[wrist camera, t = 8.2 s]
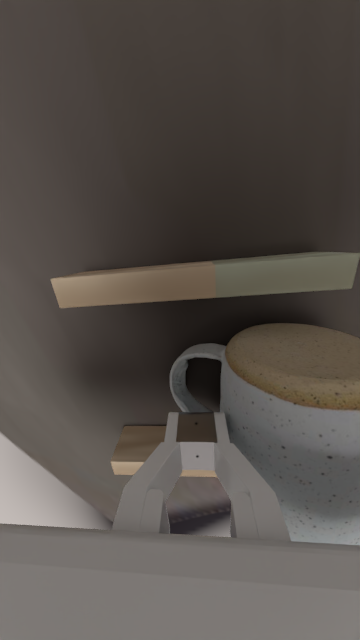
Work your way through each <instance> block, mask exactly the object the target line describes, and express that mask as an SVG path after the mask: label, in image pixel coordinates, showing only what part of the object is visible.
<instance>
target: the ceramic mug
mask: <svg viewBox="0 0 360 640" xmlns="http://www.w3.org/2000/svg"><path fill="white" fill-rule="evenodd" d="M194 357H199V358H210V359H217V360H219V361H221V362H222V368H221V400H220V412H224V414H225V419H226V424H227V430H228V435H229V440H230V443H233V444H234V445H235V446H236V447H237V448H238V449H239V451H240V452H241V453H242V454H243V455H244V457H245V458H246V459H247V460H248V461H249V462H250V464H251V465H252V466H253V467H254V468H255V469H256V471H257V472H258V473H259V474H260V475H261V477H262V478H263V479H264V480H265V481H266V482H267V484H268V485H269V486H270V487H271V488H272V490H273V491H274V492H275V493H276V496H277V499H278V502H279V505H280V508H281V511H282V514H283V518H284V521H285V524H286V527H287V530H288V533H289V536H290V539H291V541H297V542H314V543H330V544H347V545H360V338H357V337H355V336H352V335H350V334H347V333H344V332H340V331H337V330H333V329H329V328H324V327H319V326H314V325H306V324H293V323H272V324H263V325H256V326H253V327H250V328H247V329H244V330H243V331H241V332H239V333H237V334H236V335H235V336H234V337H232V339H231V340H230V341H229V343H228V344H227V346H224V345H219V344H215V343H207V344H198V345H194V346H192V347H190V348H188V349H186V350H185V351H184V352H183V353H182V354H181V355H180V356H179V357H178V358H177V360H176V361H175V362H174V364H173V365H172V368H171V371H170V389H171V393H172V395H173V398H174V400H175V402H176V403H177V405H178V406H179V407H180V409H181V410H182V411H183V412H193V413H194V412H213V411H212V410H209V409H208V408H206V407H205V406H203V405H202V404H200V403H199V402H198V401H197V400H196V399H195V398H194V397H193V396H192V395H191V394H190V393H189V391H188V390H187V386H186V385H185V379H186V369H187V367H188V361H187V360H188V359H191V358H194Z"/></svg>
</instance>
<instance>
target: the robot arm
mask: <svg viewBox="0 0 360 640" xmlns="http://www.w3.org/2000/svg"><path fill="white" fill-rule="evenodd" d="M182 470H212V471H215V473H216V475H217V477H218V478H219V480H220V482H221V483H222V485H223V487H224V489H225V490H226V492H227V494H228V496H229V497H230V499H231V524H230V534H231V537H213V536H198V535H181V534H169V532H170V527H169V521H168V515H167V510H166V504H165V502H166V500H167V498H168V497H169V495H170V493H171V491H172V489H173V487H174V486H175V484H176V482H177V480H178V478H179V476H180V475H181V473H182ZM0 640H360V545H347V544H330V543H314V542H297V541H291V539H290V536H289V533H288V530H287V527H286V524H285V521H284V518H283V514H282V511H281V508H280V505H279V502H278V499H277V496H276V493H275V492H274V491H273V490H272V488H271V487H270V486H269V485H268V484H267V482H266V481H265V480H264V479H263V478H262V477H261V475H260V474H259V473H258V472H257V471H256V469H255V468H254V467H253V466H252V465H251V464H250V462H249V461H248V460H247V459H246V458H245V457H244V455H243V454H242V453H241V452H240V451H239V449H238V448H237V447H236V446H235V445H234V444H233V443H230V440H229V435H228V430H227V424H226V419H225V414H224V412H194V413H193V412H169V414H168V420H167V427H166V433H165V439H164V442H161V443H160V444H159V445H158V447H157V448H156V449H155V450H154V451H153V453H152V454H151V455H150V456H149V457H148V459H147V460H146V461H145V462H144V464H143V465H142V466H141V467H140V468H139V470H138V471H137V472H136V473H135V474H134V476H133V477H132V478H131V479H130V480H129V482H128V483H127V484H126V485H125V486H124V489H123V493H122V496H121V500H120V503H119V506H118V510H117V513H116V516H115V520H114V523H113V527H112V530H98V529H82V528H81V529H80V528H65V527H48V526H32V525H15V524H0Z"/></svg>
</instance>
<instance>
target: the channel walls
mask: <svg viewBox="0 0 360 640" xmlns="http://www.w3.org/2000/svg"><path fill="white" fill-rule="evenodd" d="M359 257H360V253H345V252H307V253H295V254H283V255H272V256H260V257H249V258H237V259H226V260H214V261H202V262H191V263H179V264H168V265H156V266H144V267H133V268H121V269H110V270H98V271H87V272H80V273H76V274H71V275H66V276H62V277H57V278H53V279H50V280H51V283H52V286H53V289H54V292H55V295H56V298H57V301H58V304H59V307H60V308H70V307H85V306H99V305H114V304H129V303H144V302H159V301H174V300H189V299H204V298H219V297H234V296H249V295H264V294H278V293H293V292H308V291H323V290H338V289H352V286H353V282H354V278H355V274H356V270H357V266H358V261H359ZM166 427H167V426H124V428H123V431H122V433H121V436H120V438H119V441H118V444H117V446H116V449H115V451H114V454H113V456H112V459H111V461H110V462H111V465H112V468H113V471H114V474H119V475H134V474H135V473H136V472H137V471H138V470H139V468H140V467H141V466H142V465H143V464H144V462H145V461H146V460H147V459H148V457H149V456H150V455H151V454H152V453H153V451H154V450H155V449H156V448H157V447H158V445H159V444H160V443H161V442H164V439H165V433H166ZM180 476H198V477H217V475H216V473H215V471H212V470H182V473H181V475H180Z"/></svg>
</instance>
